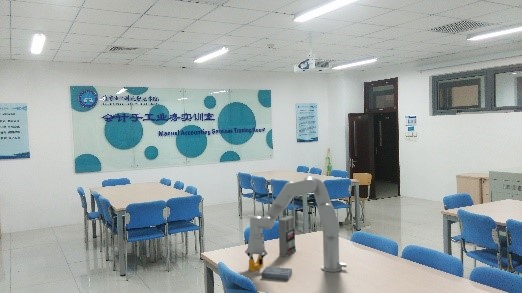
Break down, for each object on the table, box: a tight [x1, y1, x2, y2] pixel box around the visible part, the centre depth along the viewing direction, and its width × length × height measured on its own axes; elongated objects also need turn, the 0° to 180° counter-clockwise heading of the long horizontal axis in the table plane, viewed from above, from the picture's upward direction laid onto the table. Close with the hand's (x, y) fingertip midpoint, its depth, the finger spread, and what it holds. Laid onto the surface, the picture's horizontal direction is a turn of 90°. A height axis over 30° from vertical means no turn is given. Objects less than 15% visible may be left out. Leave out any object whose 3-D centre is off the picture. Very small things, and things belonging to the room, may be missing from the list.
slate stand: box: [261, 266, 293, 281], centre depth 241 cm, size 16×11×3 cm
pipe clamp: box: [248, 254, 264, 272], centre depth 256 cm, size 12×4×6 cm, turn 145°
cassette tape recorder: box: [278, 215, 297, 257], centre depth 283 cm, size 14×6×25 cm, turn 148°
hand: (256, 263), depth 255 cm, fingers closed on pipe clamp, 4 cm apart
